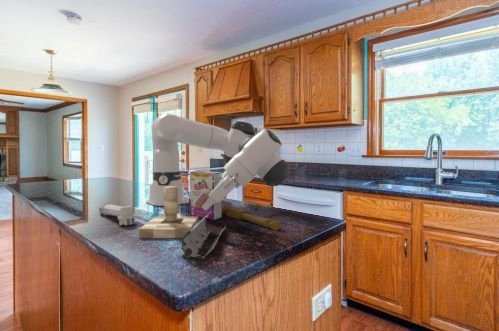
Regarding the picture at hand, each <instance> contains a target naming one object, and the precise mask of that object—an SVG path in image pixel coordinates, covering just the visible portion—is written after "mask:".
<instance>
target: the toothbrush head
mask: <svg viewBox="0 0 499 331" xmlns="http://www.w3.org/2000/svg"><path fill="white" fill-rule="evenodd" d="M98 209H99V213H100V214H101V215H104V216H117V220H118V221H119V223H118V224H119V226H123V225H124V226H131V225H135V223H136V217H137V215H136V214H134V211H133V207H132V206H131V205H129V206H121V205H114V204H112V203H110V202H108V203H104V204H101V205H100V207H98Z"/></svg>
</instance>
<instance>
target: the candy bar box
mask: <svg viewBox="0 0 499 331" xmlns="http://www.w3.org/2000/svg"><path fill="white" fill-rule="evenodd" d="M222 178H223V173H222V172H218V171H217V172H216V171H206V170H194V171H190V172H189V185H190V187H189V188H190V190H189V191H190V197H189V200H190V217H198V219H199V218H201V219H203V218H204V217H205V216H206V215H207V214H208V213H209V212H210V214H209V215H208V216H207V217H206V220H212V221H215V220H218V219H219V220H220V219H221V218H222V217H223V216H222V215H223V214H222V213H223V212H222V209H223V206H222V205H223V203H222V202H223V200H222V201H221V202H220V203H218V204H217V203H216V202H215V203H214V204H213V205H212V206H210V207H209V208H208V209H207V210H204V209H203V208H202V205H203V204H204V203H205V202H206V201H207V199H208V198H209V197H210V196H209V194H210V193H211V192H212V191H213V189H214V188H215V187H216V186H217V184H218V183H219V182H220V180H221V179H222ZM211 211H212V212H211Z"/></svg>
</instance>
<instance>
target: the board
mask: <svg viewBox="0 0 499 331" xmlns="http://www.w3.org/2000/svg"><path fill="white" fill-rule="evenodd" d="M197 223H199V217H194V216H177V224H166V222H165V216H154V217H153V218H152V219H150V220H149V221H148V222H147V223H145V224H144V225H142V226H141V227H140V228H138V238H139V239H182V238H183V236H184V235H185V234H186V233H187V232H188V231H189V230H190V229H192V228H193V227H194V226H195V225H196V224H197Z"/></svg>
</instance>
